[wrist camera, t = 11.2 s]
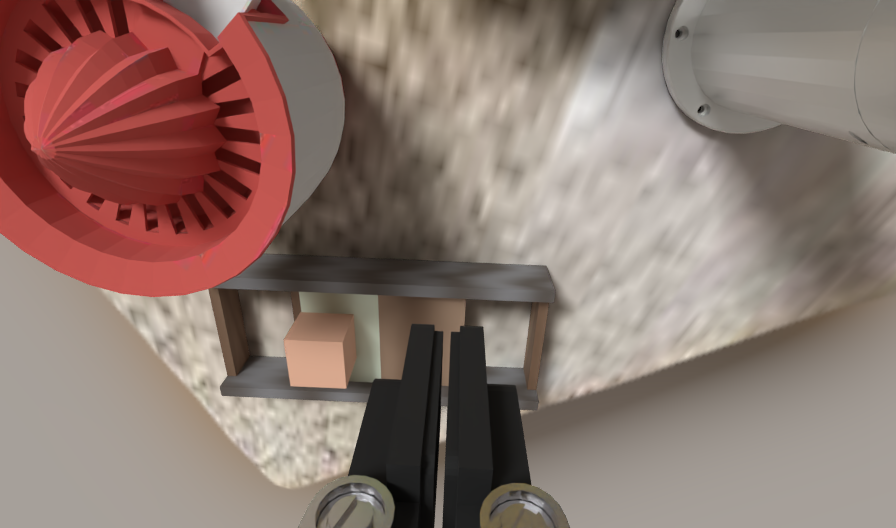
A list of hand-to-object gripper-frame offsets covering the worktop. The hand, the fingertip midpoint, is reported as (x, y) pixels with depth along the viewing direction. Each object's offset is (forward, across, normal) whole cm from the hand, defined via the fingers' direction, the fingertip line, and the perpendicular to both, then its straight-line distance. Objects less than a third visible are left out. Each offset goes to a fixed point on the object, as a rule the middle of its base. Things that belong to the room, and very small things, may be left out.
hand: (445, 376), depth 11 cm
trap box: (+27, +6, +16) cm, 32 cm away
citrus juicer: (+27, +14, -4) cm, 31 cm away
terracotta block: (+24, +10, +16) cm, 31 cm away
